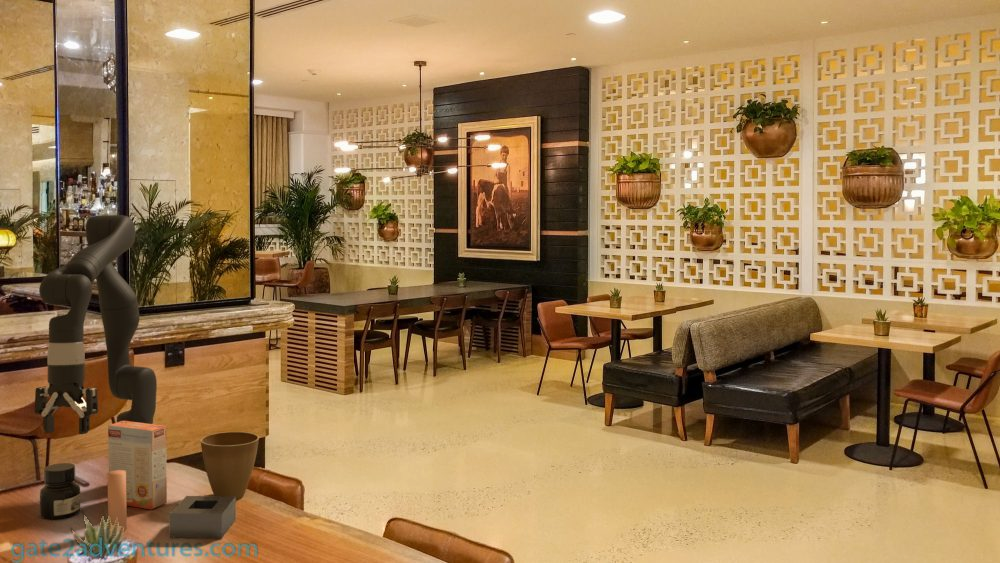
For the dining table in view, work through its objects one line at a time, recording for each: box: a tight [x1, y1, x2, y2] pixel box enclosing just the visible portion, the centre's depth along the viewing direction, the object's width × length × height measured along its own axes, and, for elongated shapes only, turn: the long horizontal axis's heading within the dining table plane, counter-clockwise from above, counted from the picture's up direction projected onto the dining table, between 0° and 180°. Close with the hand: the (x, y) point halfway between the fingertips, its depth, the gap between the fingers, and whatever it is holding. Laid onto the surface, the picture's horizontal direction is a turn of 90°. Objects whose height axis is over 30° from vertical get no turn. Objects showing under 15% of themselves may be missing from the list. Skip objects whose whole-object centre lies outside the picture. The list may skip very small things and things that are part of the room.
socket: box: [169, 495, 237, 540], centre depth 200 cm, size 12×12×6 cm
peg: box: [107, 470, 128, 532], centre depth 198 cm, size 4×4×14 cm
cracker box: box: [107, 421, 168, 510], centre depth 215 cm, size 14×6×21 cm, turn 71°
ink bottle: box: [39, 462, 81, 520], centre depth 207 cm, size 10×9×12 cm
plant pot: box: [200, 431, 260, 500], centre depth 223 cm, size 15×15×16 cm
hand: (66, 433), depth 189 cm, fingers open, 8 cm apart
